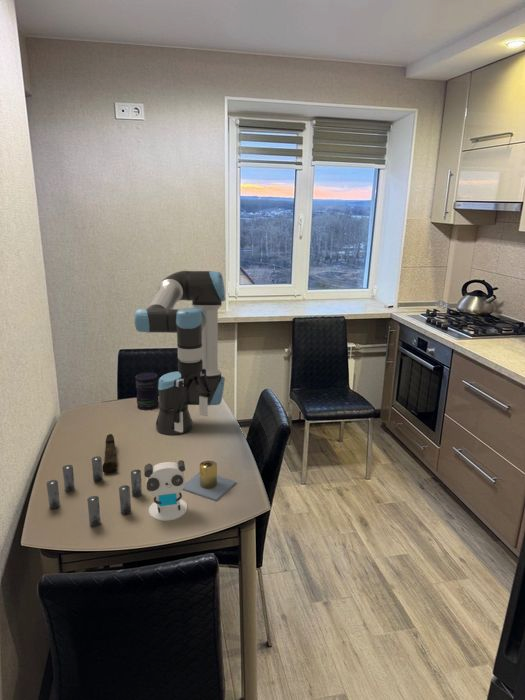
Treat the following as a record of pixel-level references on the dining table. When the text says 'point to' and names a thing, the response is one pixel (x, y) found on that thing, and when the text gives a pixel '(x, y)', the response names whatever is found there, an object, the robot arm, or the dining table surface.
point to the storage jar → (147, 391)
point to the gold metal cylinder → (208, 474)
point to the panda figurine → (166, 490)
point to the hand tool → (110, 456)
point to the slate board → (212, 493)
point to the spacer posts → (94, 500)
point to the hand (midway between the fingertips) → (191, 423)
